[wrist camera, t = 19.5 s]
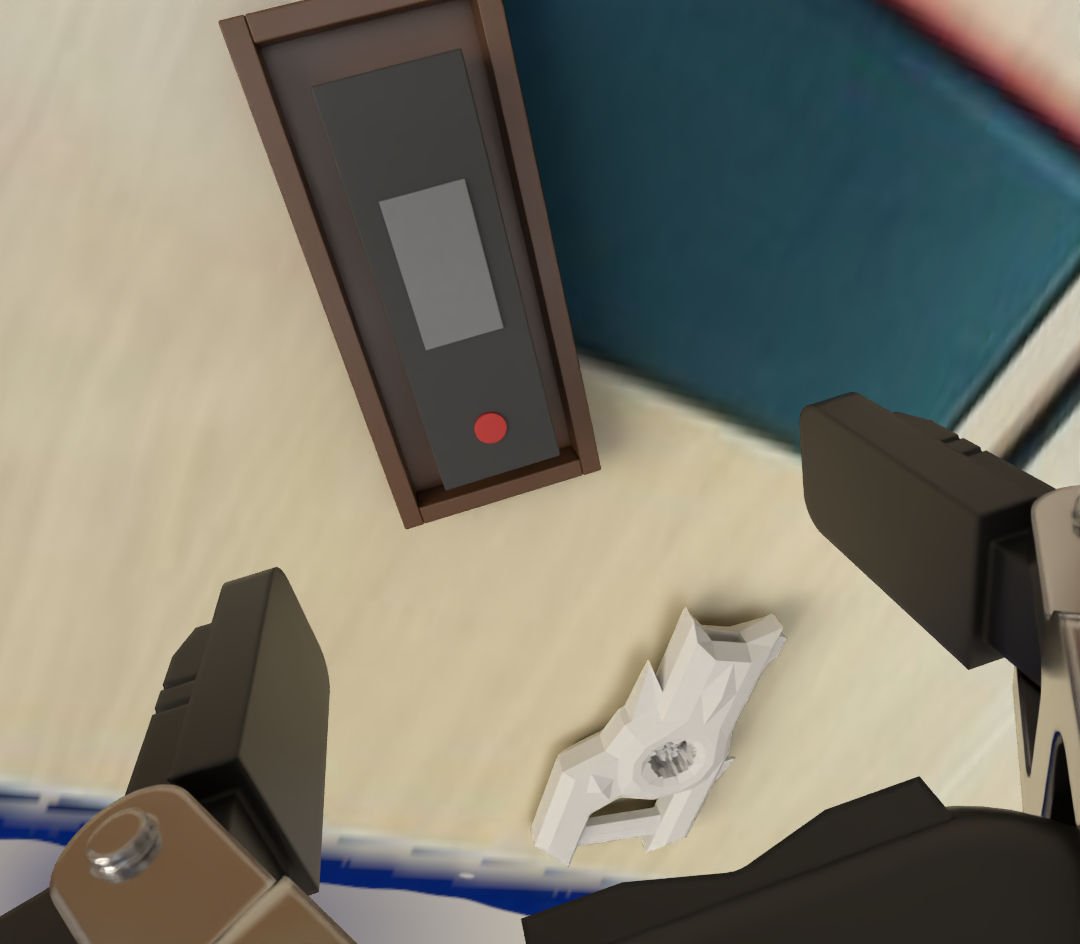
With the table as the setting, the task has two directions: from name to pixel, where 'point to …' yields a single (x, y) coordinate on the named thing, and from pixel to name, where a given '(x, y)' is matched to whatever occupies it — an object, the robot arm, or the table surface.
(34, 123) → the table surface
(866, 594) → the table surface
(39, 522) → the table surface
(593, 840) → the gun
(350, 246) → the tray
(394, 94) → the remote
